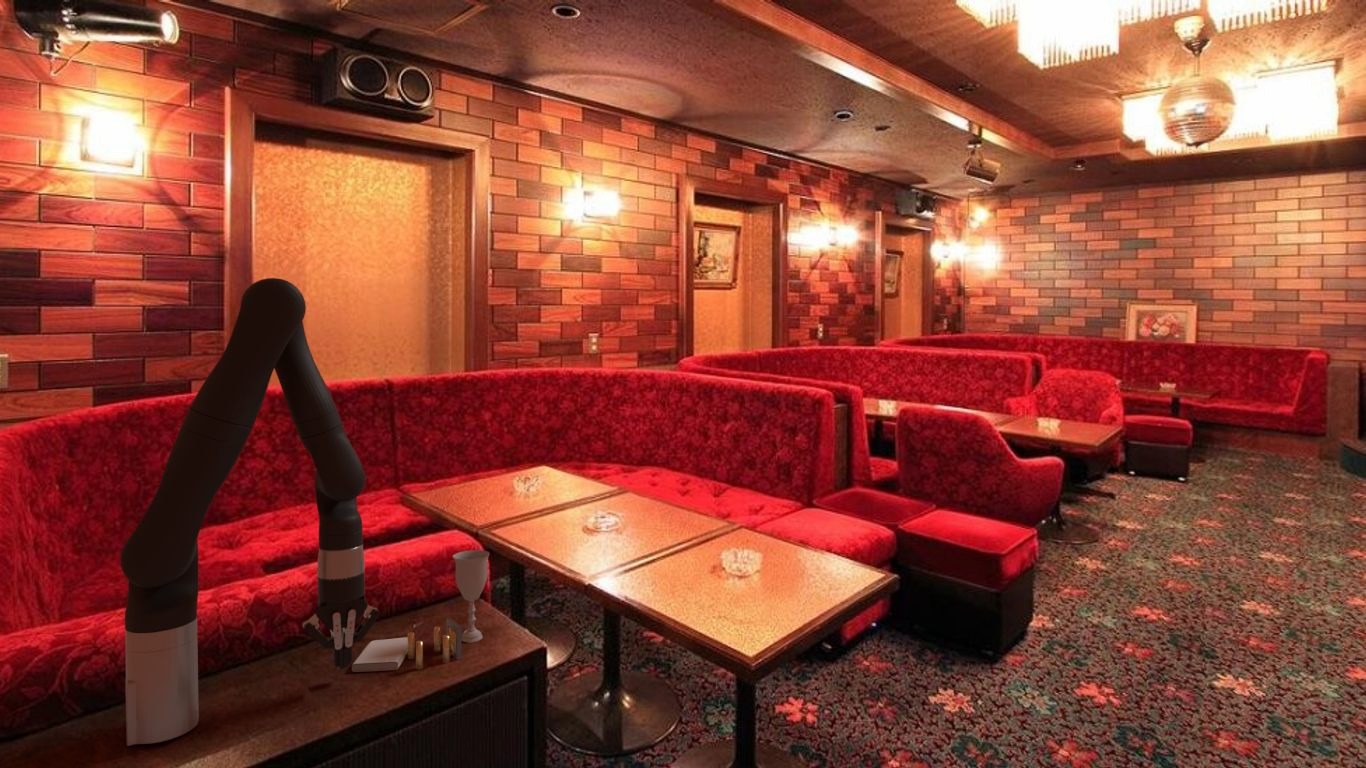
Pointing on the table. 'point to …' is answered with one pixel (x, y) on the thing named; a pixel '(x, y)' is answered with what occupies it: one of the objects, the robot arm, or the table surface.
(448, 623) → the candles
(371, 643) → the external hard drive
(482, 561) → the chalice
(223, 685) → the table surface
